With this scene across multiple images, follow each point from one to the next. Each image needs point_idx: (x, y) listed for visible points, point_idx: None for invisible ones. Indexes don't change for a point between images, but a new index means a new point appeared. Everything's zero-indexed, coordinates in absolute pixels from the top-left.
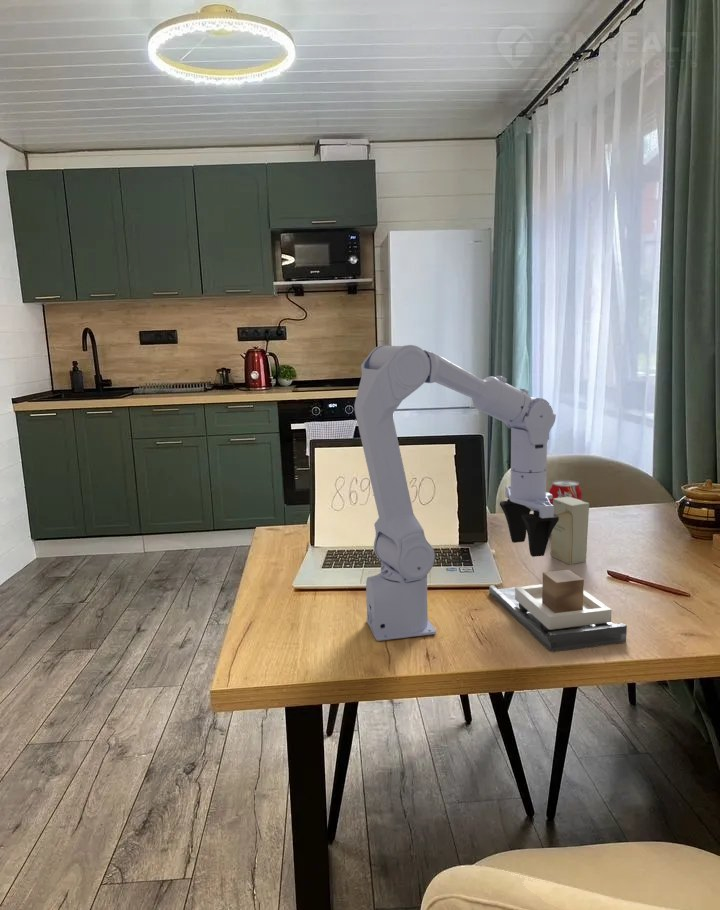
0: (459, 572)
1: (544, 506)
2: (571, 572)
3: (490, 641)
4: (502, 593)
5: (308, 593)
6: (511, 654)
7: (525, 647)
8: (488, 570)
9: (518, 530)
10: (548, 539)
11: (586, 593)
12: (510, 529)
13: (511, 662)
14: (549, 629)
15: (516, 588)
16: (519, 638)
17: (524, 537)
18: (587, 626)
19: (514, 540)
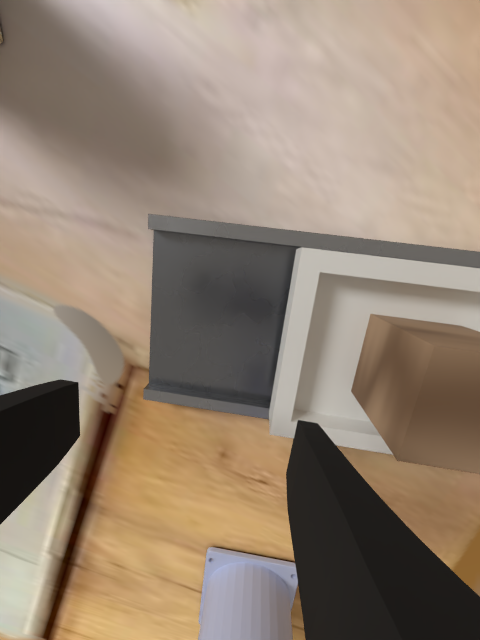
0: (12, 383)
1: None
2: (473, 359)
3: None
4: (200, 397)
5: (63, 636)
6: (436, 500)
7: (426, 466)
8: (10, 314)
9: (15, 460)
10: (383, 502)
11: (422, 268)
12: (6, 515)
13: (462, 515)
14: None
15: (277, 434)
16: (387, 454)
17: (58, 393)
18: None
19: (71, 438)
